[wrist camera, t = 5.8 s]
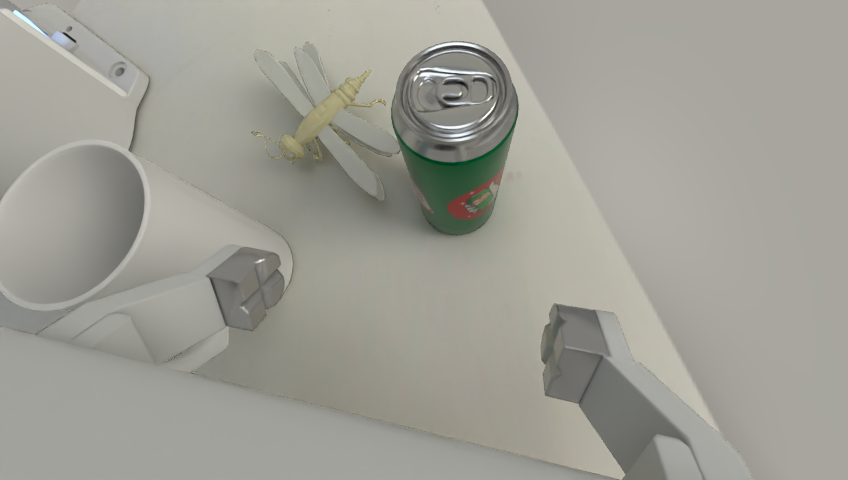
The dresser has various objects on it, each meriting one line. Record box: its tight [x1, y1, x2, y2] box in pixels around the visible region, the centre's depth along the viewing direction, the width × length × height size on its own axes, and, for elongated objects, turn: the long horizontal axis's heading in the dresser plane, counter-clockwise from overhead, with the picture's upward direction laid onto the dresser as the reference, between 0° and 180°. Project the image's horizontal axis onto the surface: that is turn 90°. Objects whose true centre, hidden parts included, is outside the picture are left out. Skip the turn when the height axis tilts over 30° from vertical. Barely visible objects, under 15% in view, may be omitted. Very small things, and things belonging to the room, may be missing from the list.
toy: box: [252, 42, 400, 200], centre depth 24 cm, size 15×9×5 cm, turn 39°
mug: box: [0, 139, 293, 373], centre depth 18 cm, size 10×7×12 cm, turn 4°
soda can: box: [391, 41, 519, 235], centre depth 18 cm, size 5×5×12 cm
